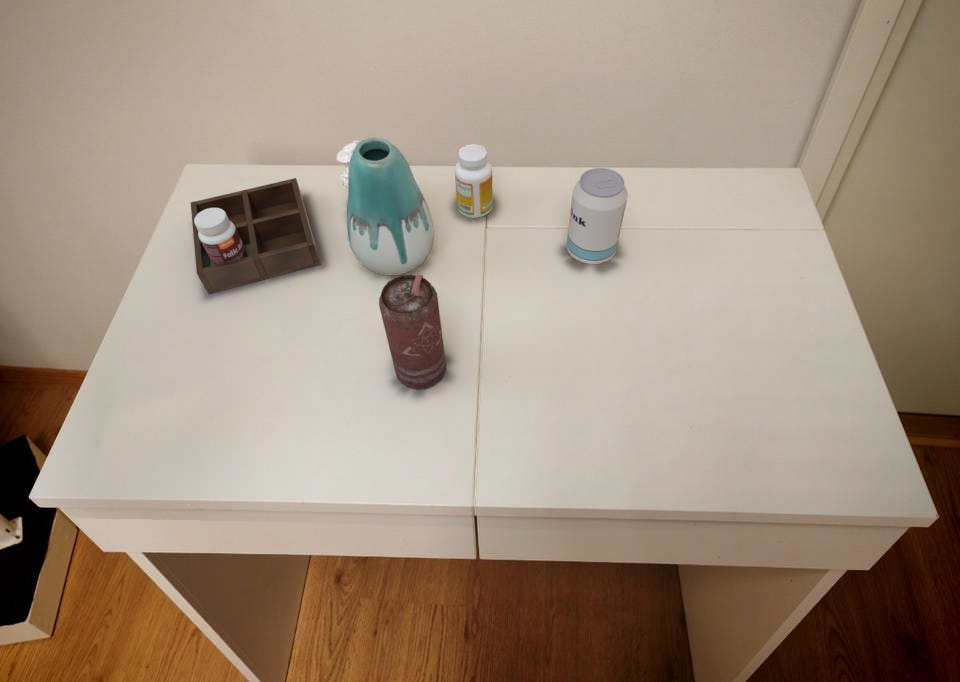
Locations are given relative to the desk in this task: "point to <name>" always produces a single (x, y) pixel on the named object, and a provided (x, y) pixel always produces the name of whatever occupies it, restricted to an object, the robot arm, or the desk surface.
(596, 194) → the beverage can
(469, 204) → the supplement bottle
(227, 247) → the pill bottle
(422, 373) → the red cylinder
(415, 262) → the vase
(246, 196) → the holder
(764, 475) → the desk surface
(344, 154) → the flower shoulder figurine
